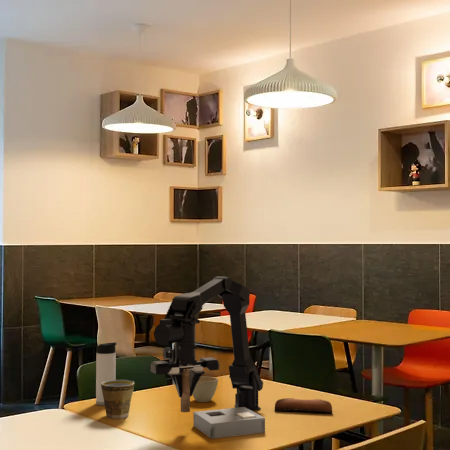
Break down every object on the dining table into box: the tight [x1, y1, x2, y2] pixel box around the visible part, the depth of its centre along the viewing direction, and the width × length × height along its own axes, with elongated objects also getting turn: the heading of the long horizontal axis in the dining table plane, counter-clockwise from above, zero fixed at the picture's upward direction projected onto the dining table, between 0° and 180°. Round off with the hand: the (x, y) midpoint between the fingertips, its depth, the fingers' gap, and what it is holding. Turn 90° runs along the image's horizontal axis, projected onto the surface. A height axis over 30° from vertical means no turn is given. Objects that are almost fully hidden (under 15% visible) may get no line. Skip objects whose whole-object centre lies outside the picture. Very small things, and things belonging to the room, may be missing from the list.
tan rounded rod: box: [180, 370, 191, 413], centre depth 189 cm, size 3×3×11 cm
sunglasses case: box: [274, 397, 333, 415], centre depth 213 cm, size 18×7×7 cm, turn 78°
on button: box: [237, 412, 255, 419], centre depth 189 cm, size 4×5×2 cm
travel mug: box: [95, 341, 117, 407], centre depth 222 cm, size 6×7×20 cm
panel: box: [192, 407, 266, 440], centre depth 191 cm, size 16×14×4 cm
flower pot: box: [192, 376, 219, 403], centre depth 226 cm, size 10×10×7 cm
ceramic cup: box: [101, 379, 135, 420], centre depth 206 cm, size 13×10×10 cm
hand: (185, 396), depth 189 cm, fingers closed on tan rounded rod, 3 cm apart
